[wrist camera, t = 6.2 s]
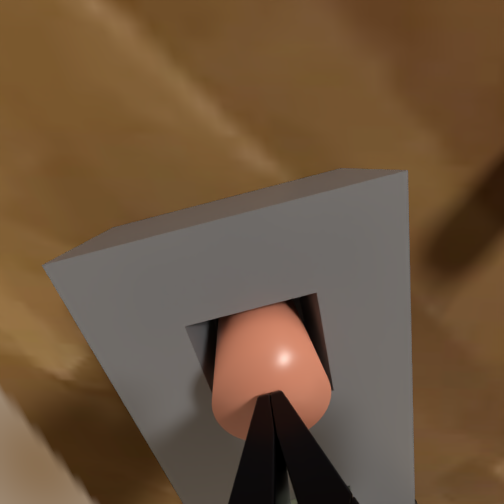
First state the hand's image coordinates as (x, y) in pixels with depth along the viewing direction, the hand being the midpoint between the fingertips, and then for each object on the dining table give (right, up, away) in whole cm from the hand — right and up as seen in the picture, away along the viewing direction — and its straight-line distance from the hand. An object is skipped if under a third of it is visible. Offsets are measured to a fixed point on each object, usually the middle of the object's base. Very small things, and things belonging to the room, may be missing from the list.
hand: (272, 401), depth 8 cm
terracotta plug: (0, +2, +5) cm, 5 cm away
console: (+1, -3, +8) cm, 9 cm away
